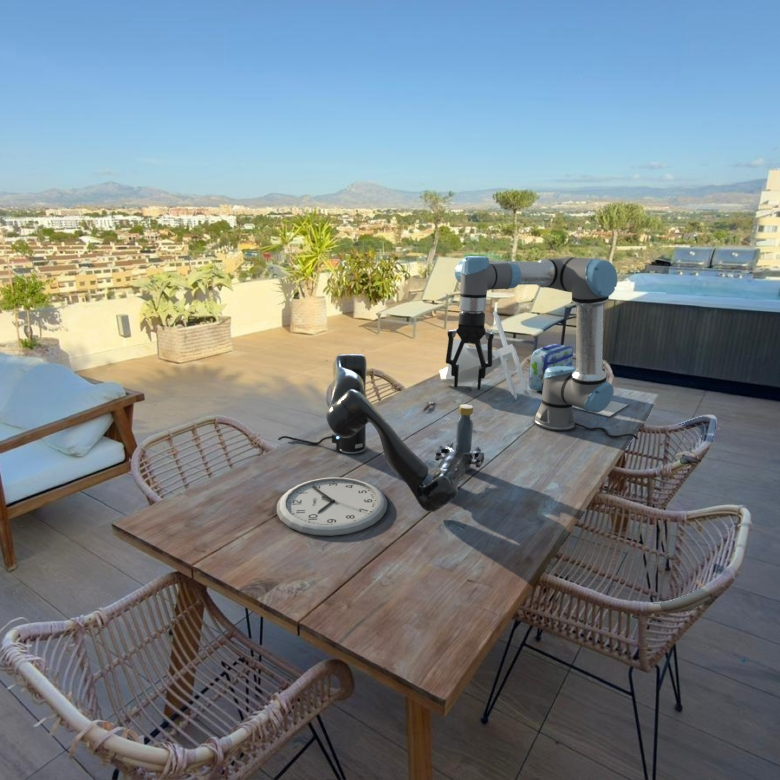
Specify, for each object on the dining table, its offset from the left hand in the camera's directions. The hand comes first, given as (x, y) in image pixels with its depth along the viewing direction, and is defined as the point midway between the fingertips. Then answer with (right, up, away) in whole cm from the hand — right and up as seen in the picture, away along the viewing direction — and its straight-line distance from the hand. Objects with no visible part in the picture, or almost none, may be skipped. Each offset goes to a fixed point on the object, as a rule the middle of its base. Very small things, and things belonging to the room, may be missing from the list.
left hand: (464, 447), depth 166 cm
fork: (-7, +11, +57) cm, 58 cm away
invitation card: (+68, +11, +60) cm, 91 cm away
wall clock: (-39, -13, -23) cm, 48 cm away
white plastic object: (+18, +17, +77) cm, 81 cm away
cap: (0, +13, -6) cm, 14 cm away
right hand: (0, +19, -8) cm, 21 cm away
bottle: (-1, -7, 0) cm, 7 cm away
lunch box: (+53, +19, +85) cm, 102 cm away
